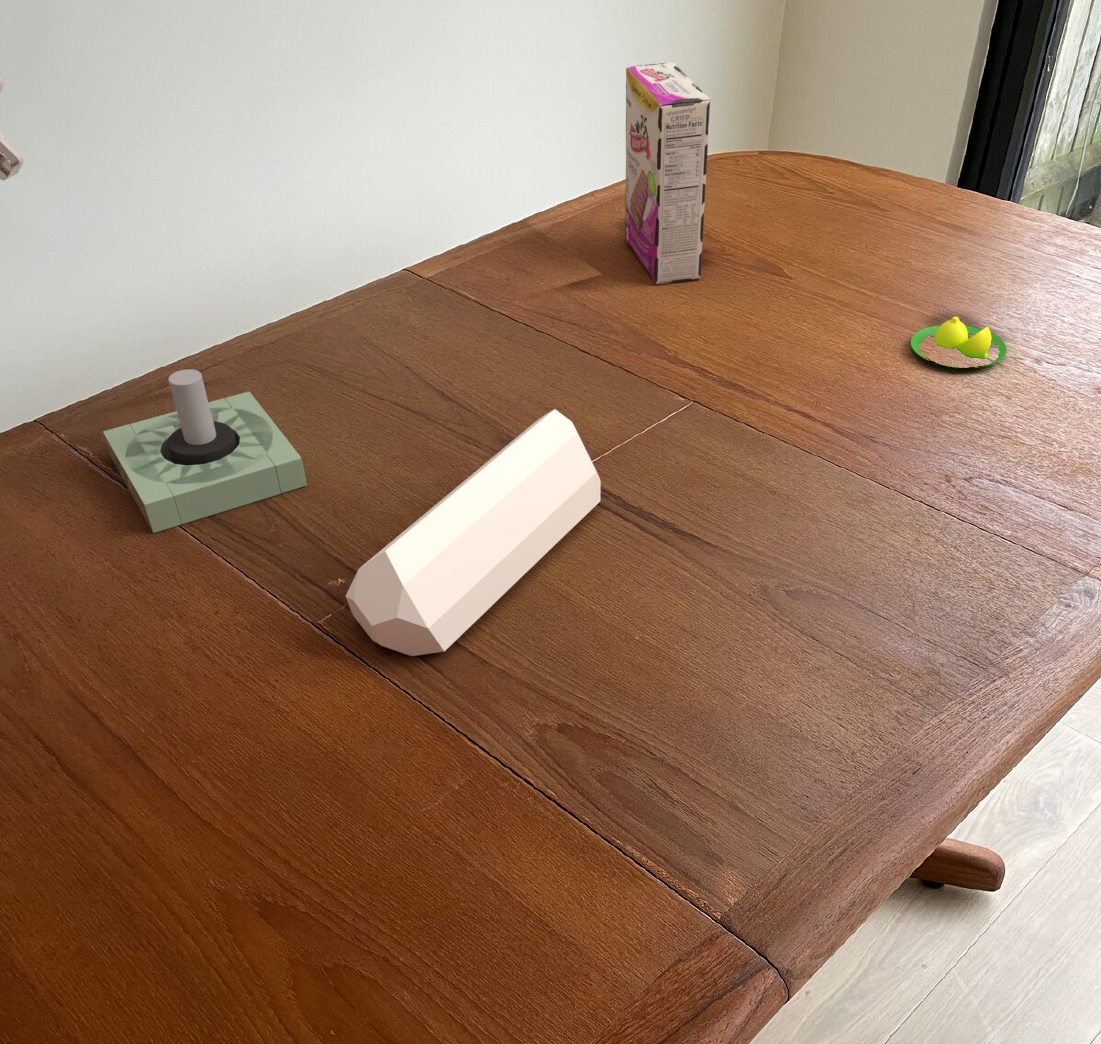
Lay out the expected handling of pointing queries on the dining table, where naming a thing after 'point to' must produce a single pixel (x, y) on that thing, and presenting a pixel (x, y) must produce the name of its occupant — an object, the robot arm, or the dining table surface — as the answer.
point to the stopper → (196, 423)
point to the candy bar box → (665, 171)
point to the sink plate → (204, 465)
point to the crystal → (476, 541)
